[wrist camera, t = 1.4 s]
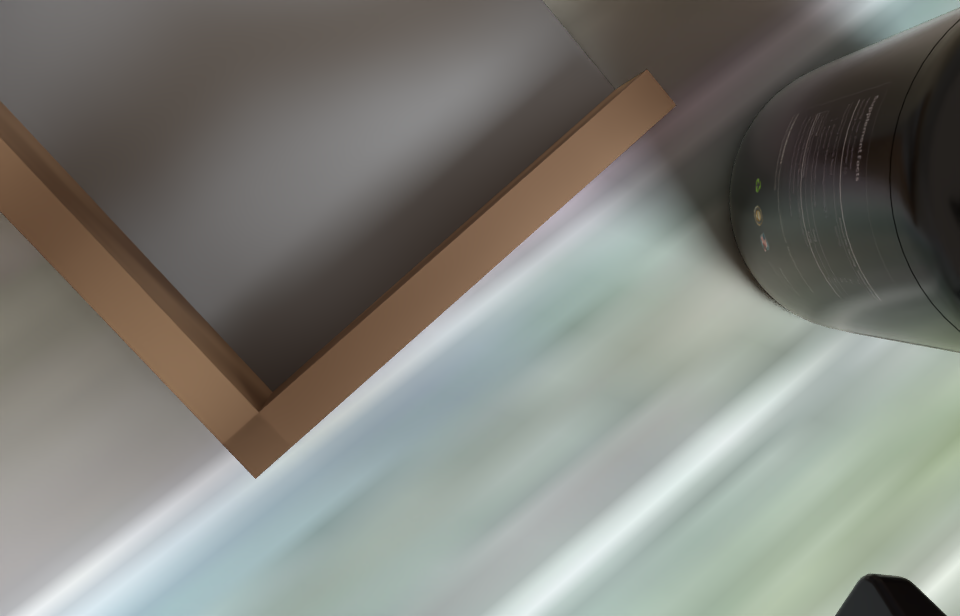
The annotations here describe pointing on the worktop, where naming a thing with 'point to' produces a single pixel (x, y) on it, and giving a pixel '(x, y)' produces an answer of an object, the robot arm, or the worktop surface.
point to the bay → (292, 177)
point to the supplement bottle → (861, 190)
